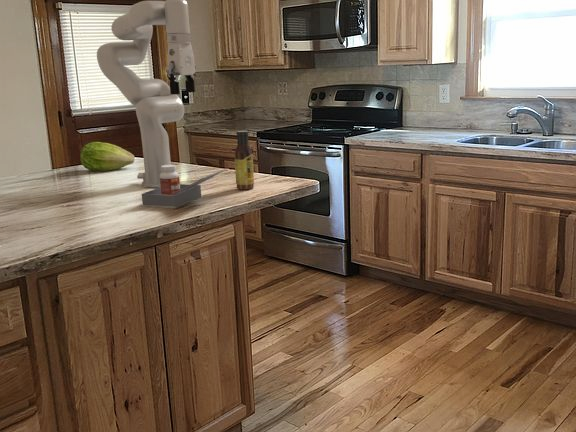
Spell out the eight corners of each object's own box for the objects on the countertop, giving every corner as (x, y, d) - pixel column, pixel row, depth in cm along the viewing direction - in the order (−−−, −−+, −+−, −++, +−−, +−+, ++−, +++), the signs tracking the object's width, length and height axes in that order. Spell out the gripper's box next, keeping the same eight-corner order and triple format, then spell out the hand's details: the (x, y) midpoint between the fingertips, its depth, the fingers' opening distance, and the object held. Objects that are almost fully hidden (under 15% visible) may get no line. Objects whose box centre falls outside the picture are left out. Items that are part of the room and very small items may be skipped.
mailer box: (142, 206, 194) (141, 193, 193) (170, 195, 209) (169, 183, 208) (175, 208, 190) (174, 195, 189) (201, 196, 204) (200, 184, 203)
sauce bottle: (251, 190, 211) (248, 132, 206) (234, 190, 212) (230, 132, 207) (256, 186, 217) (253, 129, 212) (239, 186, 218) (235, 130, 213)
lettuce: (134, 157, 254) (135, 136, 264) (78, 155, 250) (81, 133, 259) (134, 180, 264) (135, 159, 273) (80, 178, 259) (83, 157, 268)
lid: (202, 177, 184) (203, 178, 184) (227, 167, 198) (227, 169, 198) (174, 192, 189) (174, 193, 189) (199, 182, 203) (200, 183, 203)
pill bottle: (174, 202, 196) (171, 167, 193) (158, 201, 198) (154, 167, 195) (184, 197, 201) (181, 164, 198) (168, 197, 203) (165, 163, 201)
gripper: (174, 39, 192) (179, 95, 196) (202, 39, 207) (205, 91, 211) (153, 40, 194) (159, 95, 199) (182, 40, 210) (186, 91, 214)
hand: (183, 93), depth 205 cm, fingers open, 9 cm apart
